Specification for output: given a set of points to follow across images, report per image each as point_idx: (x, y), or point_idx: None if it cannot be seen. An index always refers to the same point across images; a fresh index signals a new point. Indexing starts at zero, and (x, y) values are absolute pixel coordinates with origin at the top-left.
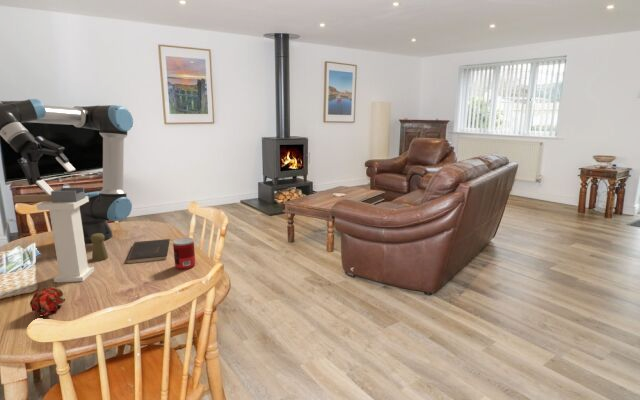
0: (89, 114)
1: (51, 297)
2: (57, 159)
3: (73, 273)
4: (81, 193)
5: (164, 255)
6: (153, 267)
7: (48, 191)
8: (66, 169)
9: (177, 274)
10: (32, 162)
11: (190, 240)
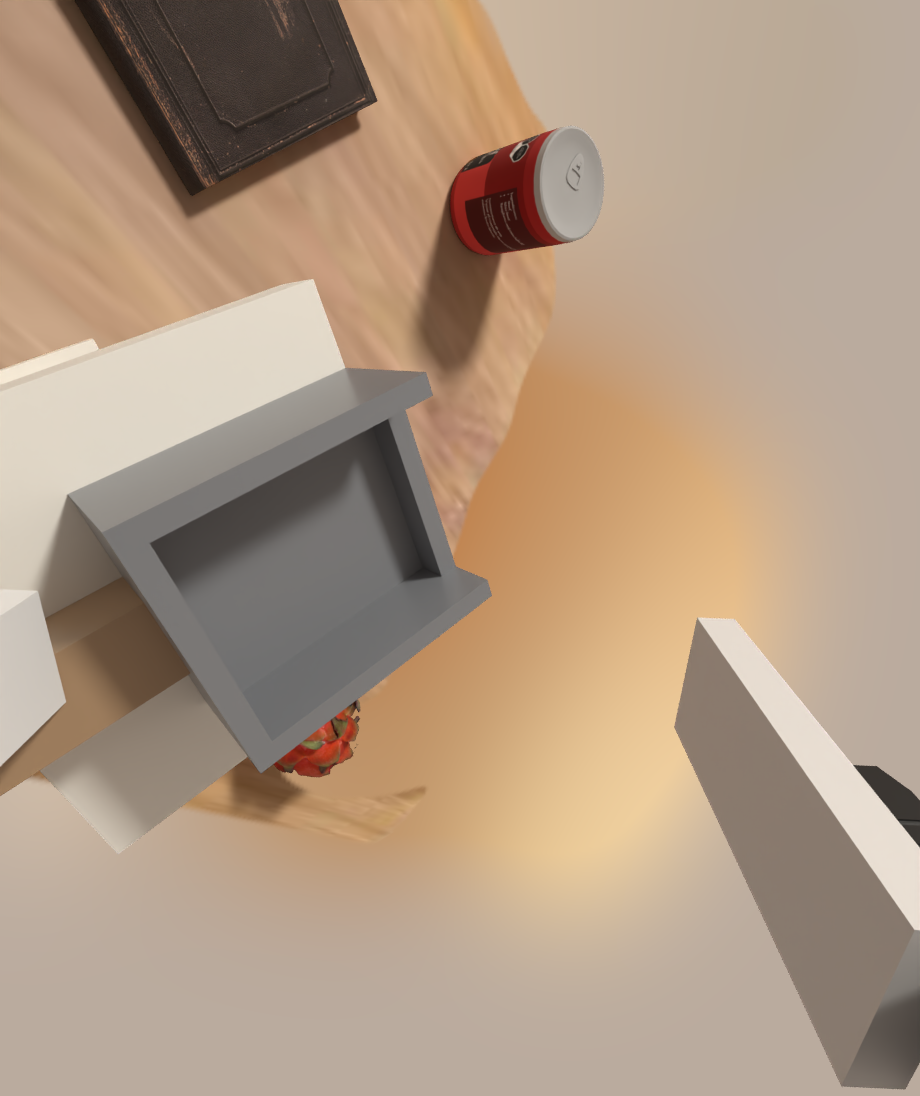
0: None
1: (355, 733)
2: (831, 1011)
3: None
4: (412, 453)
5: (366, 102)
6: (367, 240)
7: (16, 717)
8: (699, 765)
9: (489, 304)
10: None
11: (589, 165)
